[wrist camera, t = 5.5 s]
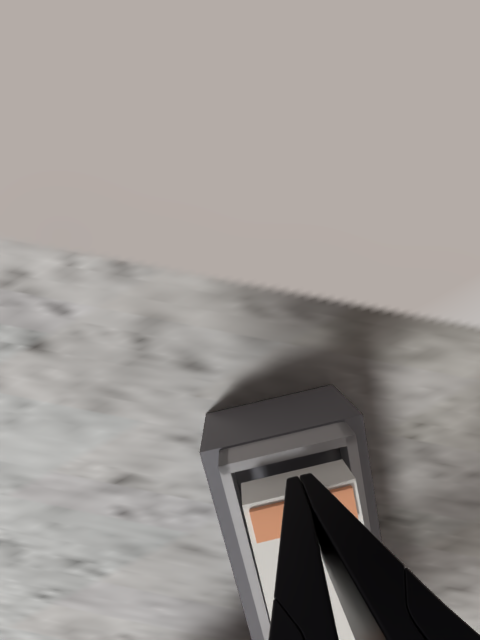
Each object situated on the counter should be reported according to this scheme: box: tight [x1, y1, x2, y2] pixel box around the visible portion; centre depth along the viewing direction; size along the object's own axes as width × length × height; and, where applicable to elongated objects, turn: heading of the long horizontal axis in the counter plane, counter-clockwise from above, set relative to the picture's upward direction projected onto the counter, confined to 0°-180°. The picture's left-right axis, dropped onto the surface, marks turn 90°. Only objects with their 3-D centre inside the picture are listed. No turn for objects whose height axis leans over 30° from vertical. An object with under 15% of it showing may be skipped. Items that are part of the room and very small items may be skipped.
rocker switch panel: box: [200, 385, 382, 640], centre depth 13 cm, size 7×17×4 cm, turn 12°
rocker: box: [241, 459, 364, 640], centre depth 9 cm, size 4×7×1 cm, turn 12°
